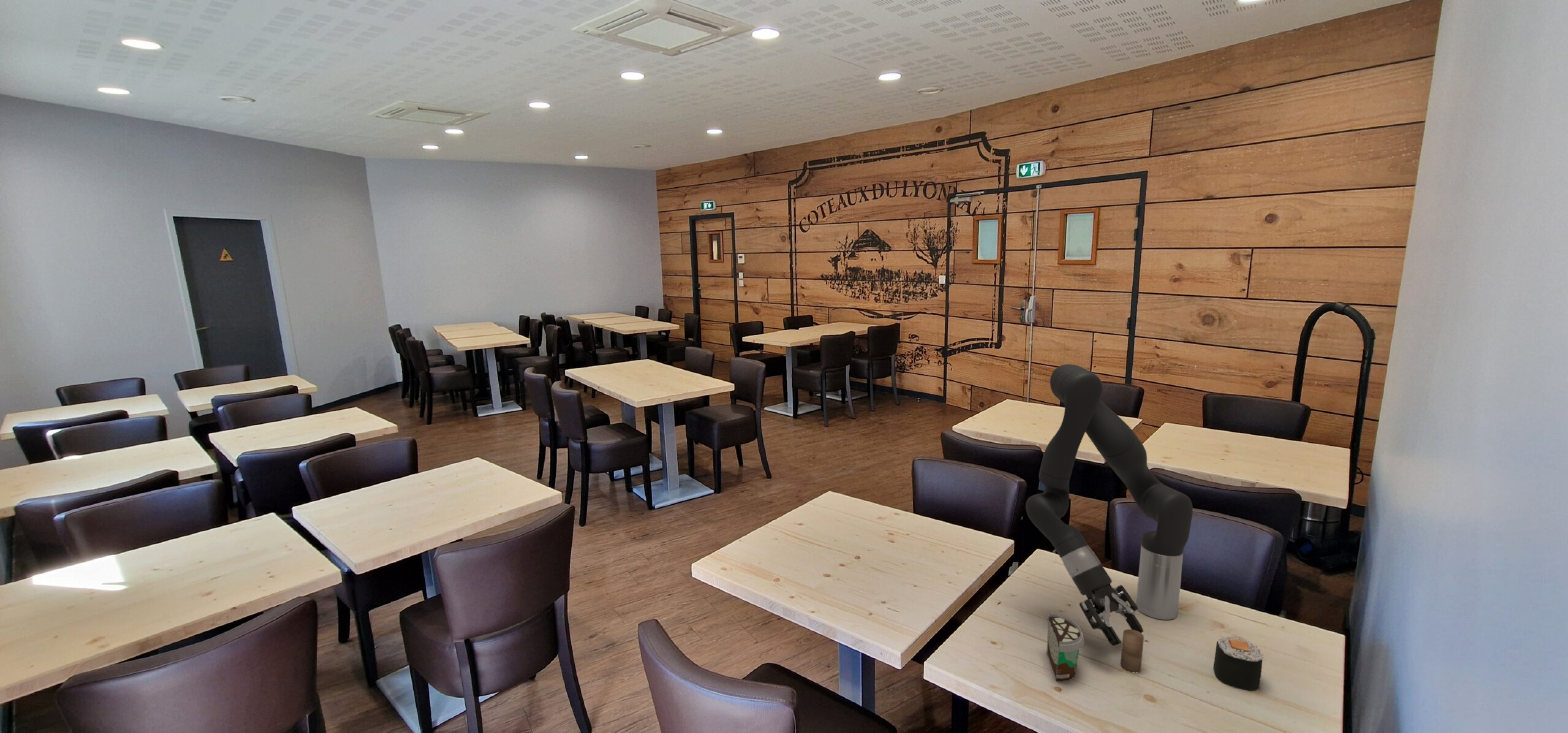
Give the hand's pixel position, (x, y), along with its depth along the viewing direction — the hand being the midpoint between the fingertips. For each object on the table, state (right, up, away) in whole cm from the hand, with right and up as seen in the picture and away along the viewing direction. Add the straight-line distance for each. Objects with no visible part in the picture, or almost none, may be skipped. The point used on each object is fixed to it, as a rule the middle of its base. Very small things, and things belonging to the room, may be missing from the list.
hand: (1128, 639), depth 140 cm
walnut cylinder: (+1, -6, 0) cm, 7 cm away
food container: (-14, -7, 0) cm, 16 cm away
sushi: (+22, -7, -4) cm, 23 cm away
